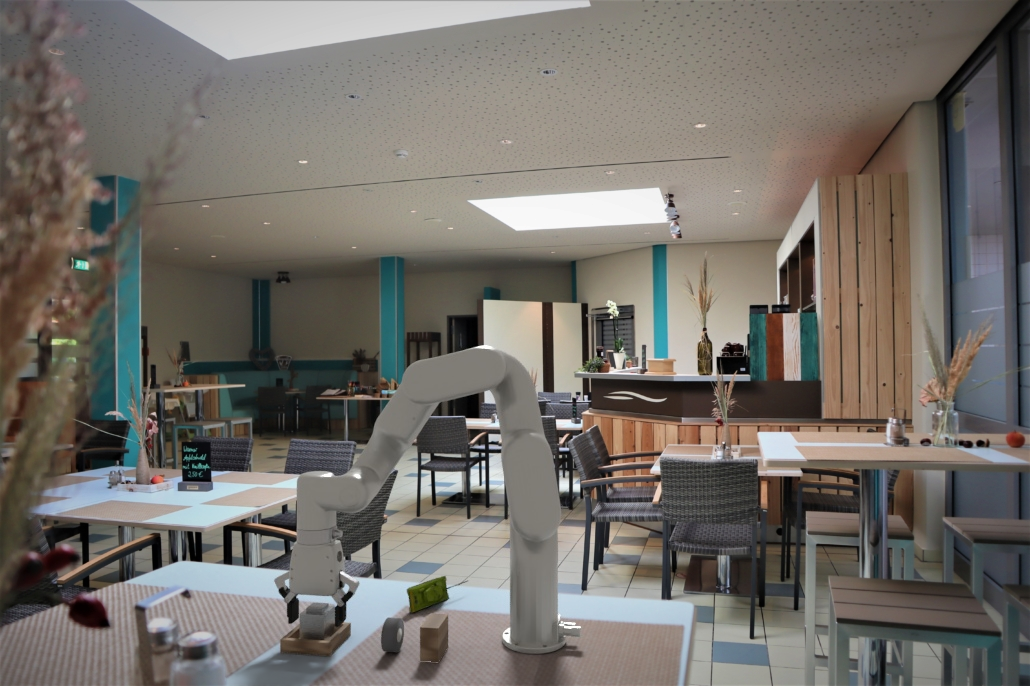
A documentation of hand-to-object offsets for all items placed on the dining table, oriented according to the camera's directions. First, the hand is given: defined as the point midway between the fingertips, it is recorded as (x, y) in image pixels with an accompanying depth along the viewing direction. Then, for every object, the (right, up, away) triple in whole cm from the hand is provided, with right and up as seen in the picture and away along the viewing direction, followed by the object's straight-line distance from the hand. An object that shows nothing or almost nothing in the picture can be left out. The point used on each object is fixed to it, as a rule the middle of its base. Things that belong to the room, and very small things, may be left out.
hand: (316, 622), depth 137 cm
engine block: (0, -4, 0) cm, 4 cm away
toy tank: (+22, -5, +22) cm, 32 cm away
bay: (0, -4, 0) cm, 4 cm away
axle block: (+24, -4, -5) cm, 25 cm away
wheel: (+16, -4, -4) cm, 17 cm away
